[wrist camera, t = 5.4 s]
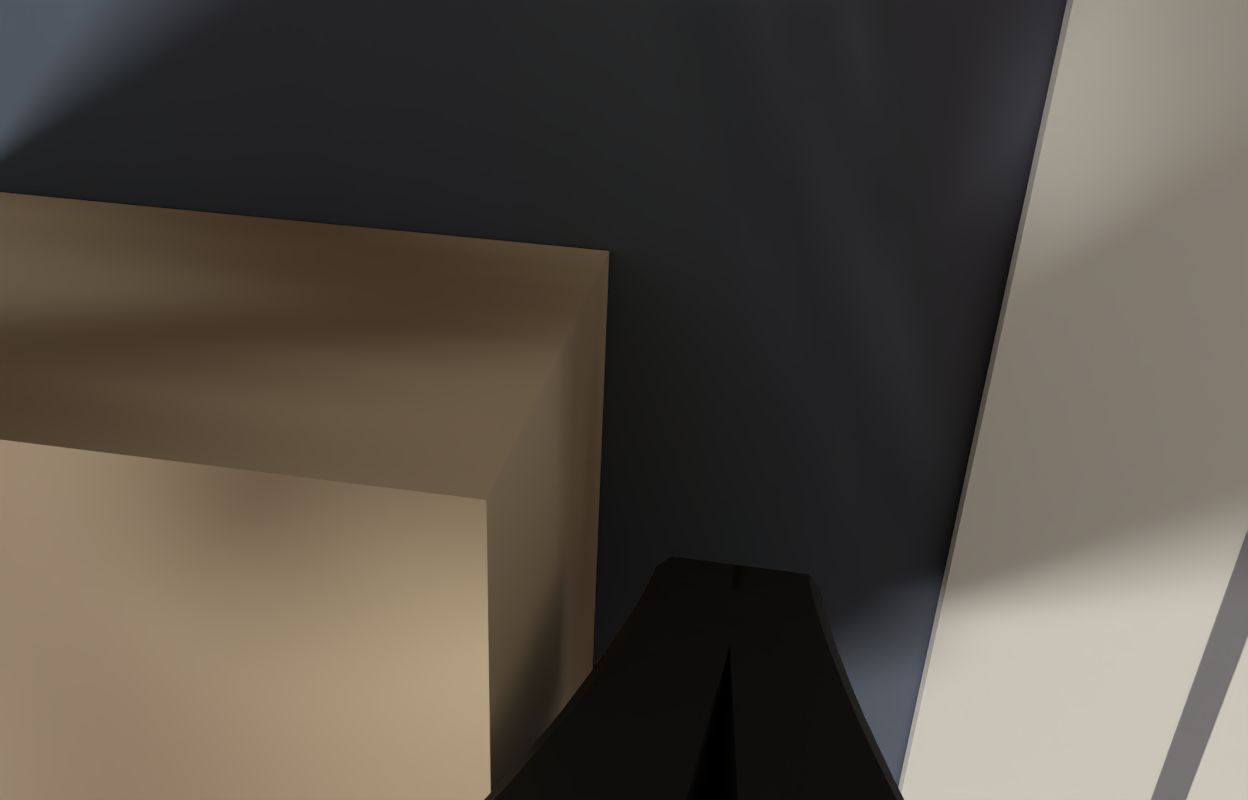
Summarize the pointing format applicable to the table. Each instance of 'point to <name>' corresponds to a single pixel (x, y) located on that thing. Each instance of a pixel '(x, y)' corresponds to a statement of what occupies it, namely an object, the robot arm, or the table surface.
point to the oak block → (289, 503)
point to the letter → (1110, 442)
